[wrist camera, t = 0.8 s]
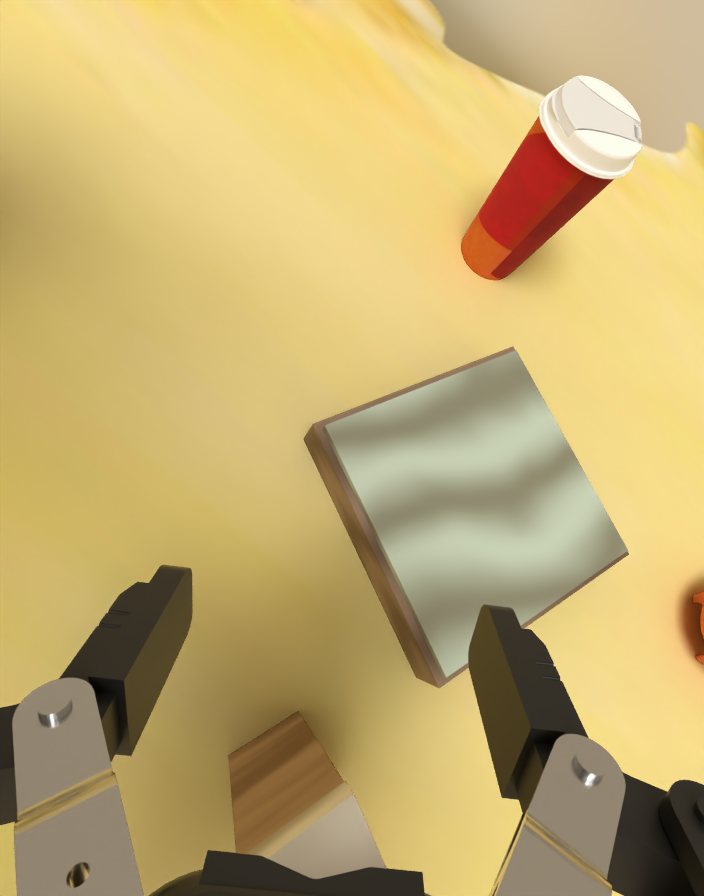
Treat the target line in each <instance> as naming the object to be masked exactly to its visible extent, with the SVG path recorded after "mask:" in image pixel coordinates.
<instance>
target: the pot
mask: <svg viewBox="0 0 704 896" xmlns="http://www.w3.org/2000/svg"><path fill="white" fill-rule="evenodd" d="M693 602H694V603H701V604H703V607H702V612H701V620H700V623H701V632H702V635H703V639H704V592H701V593H698V594H695V595H693ZM696 659H697V660H698V661H699V662H701V663H703V664H704V654H703V655H697V656H696Z"/></svg>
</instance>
